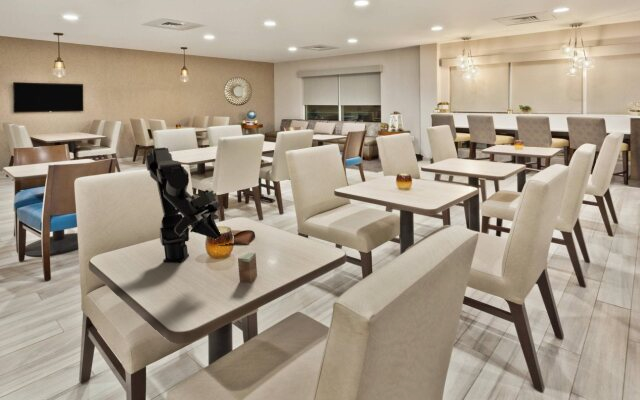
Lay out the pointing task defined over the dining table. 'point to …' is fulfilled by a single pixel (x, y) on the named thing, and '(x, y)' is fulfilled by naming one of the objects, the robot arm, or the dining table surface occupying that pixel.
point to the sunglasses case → (243, 237)
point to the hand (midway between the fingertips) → (218, 237)
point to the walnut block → (247, 267)
